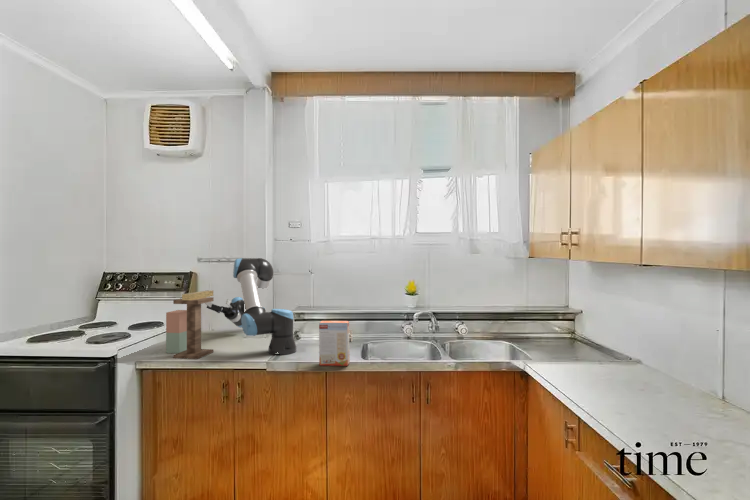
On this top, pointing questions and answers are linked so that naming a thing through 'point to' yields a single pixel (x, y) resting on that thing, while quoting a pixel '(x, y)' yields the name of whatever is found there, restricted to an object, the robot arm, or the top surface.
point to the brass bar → (197, 295)
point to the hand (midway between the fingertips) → (216, 301)
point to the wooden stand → (193, 329)
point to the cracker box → (334, 343)
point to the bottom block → (176, 342)
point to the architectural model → (350, 335)
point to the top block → (176, 321)
